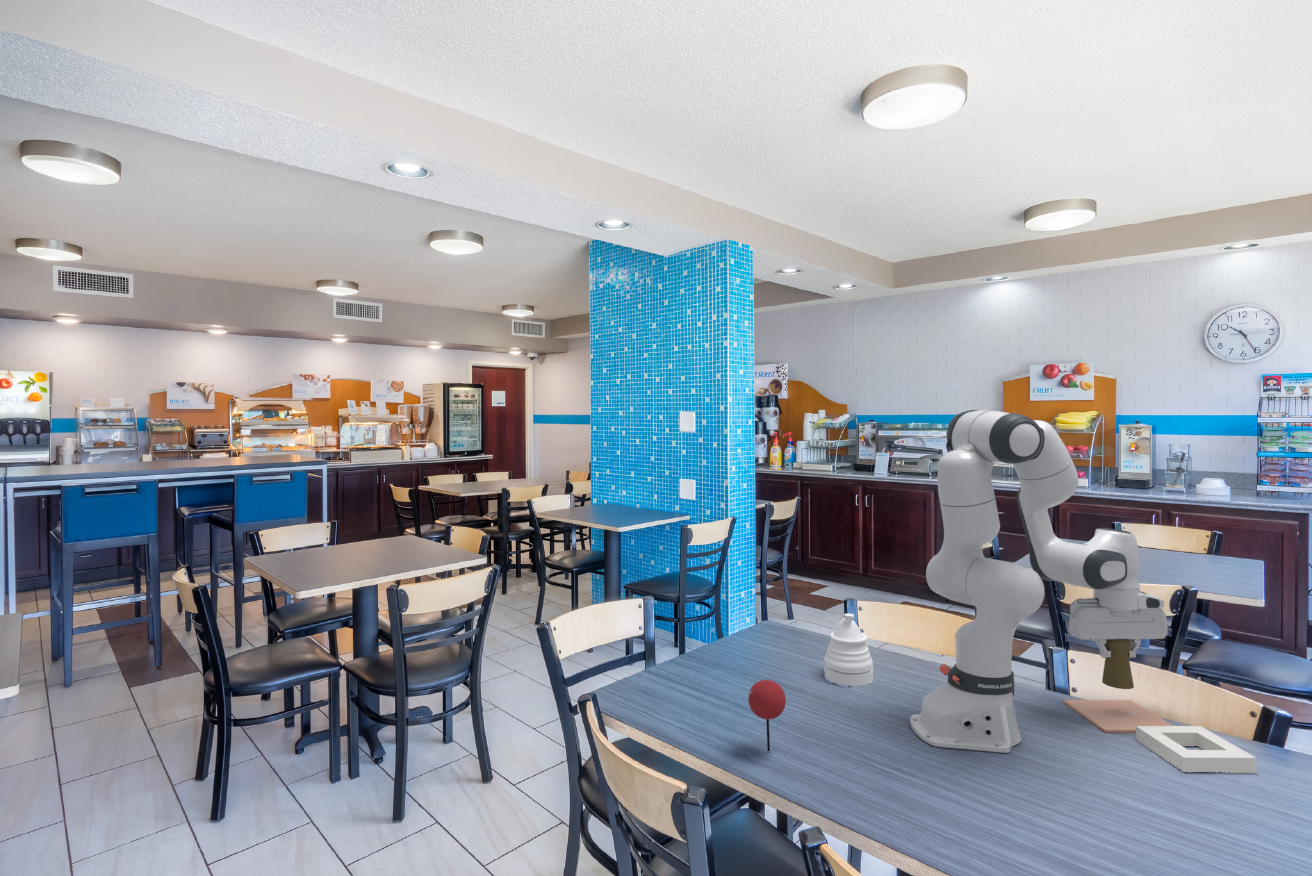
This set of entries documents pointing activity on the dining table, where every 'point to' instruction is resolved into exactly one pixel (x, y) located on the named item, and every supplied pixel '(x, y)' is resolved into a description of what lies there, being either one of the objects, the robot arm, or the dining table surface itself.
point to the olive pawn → (1118, 665)
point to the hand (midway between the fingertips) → (1117, 657)
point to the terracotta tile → (1115, 715)
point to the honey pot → (848, 655)
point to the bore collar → (1211, 759)
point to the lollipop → (767, 701)
